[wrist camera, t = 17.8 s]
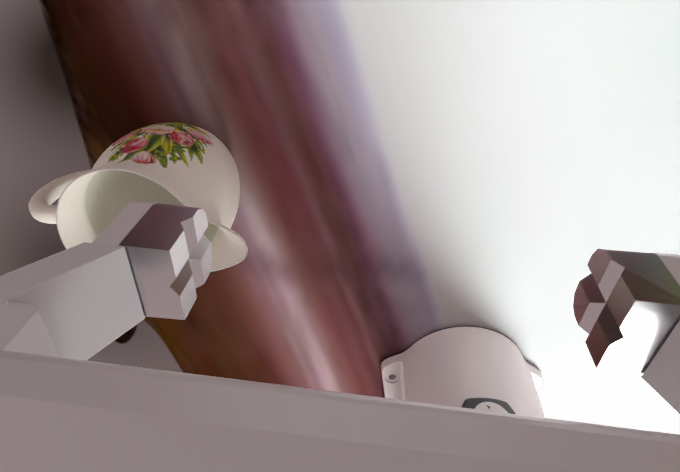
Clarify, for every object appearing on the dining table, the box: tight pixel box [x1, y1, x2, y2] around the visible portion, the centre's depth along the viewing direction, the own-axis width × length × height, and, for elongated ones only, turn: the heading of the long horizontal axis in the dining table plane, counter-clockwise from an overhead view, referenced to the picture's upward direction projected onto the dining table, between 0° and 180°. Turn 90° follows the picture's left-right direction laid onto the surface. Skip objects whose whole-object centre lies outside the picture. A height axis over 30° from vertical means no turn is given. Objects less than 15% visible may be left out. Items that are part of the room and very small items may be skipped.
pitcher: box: [29, 122, 248, 272], centre depth 37 cm, size 11×18×14 cm, turn 89°
